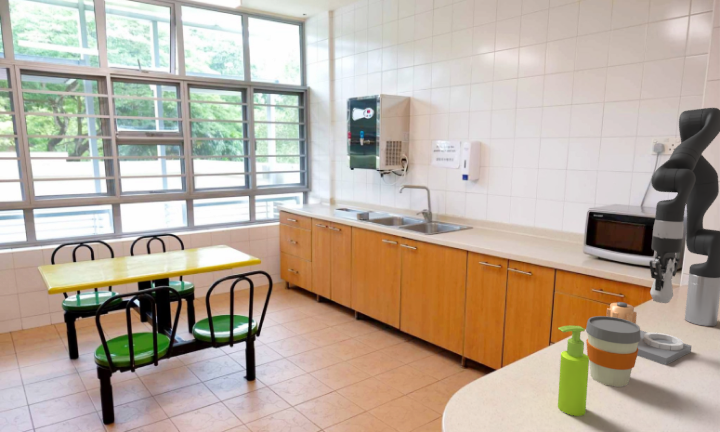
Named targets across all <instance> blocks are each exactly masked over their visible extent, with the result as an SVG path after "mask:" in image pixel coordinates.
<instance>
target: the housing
mask: <svg viewBox="0 0 720 432" xmlns="http://www.w3.org/2000/svg"><path fill="white" fill-rule="evenodd" d="M634 310H635V307H634V306H633V305H631V304H629V303H626V302H622V301H617V302H612V303H610V305H609V308H608V307H607V308H606V316H608V317H616V318H621V319H625V320H628V321H631V322H633V323H635V324H637V317H638V316H637V313H638V312H637V311H634ZM640 337H641V339H640V341H639V342H638V346H637V348H638V354H637V357H638V356H639V357H641V358H644V359H646V360H650V361H653V362H656V363H658V364H661V365H664V366H667V365H668V364H671V363H673V362H675V361H676V360H678V359H680V358H682V357H684V356H685V355H688V354H690V353H691V352H692V345H690V344H687V343H684V342H683V341H684V340H682V339H681V338H679V337H677V336H675V335H671V334H667V333H663V332H656V331H655V332H648V331H645V330H644V331H643V330H642V329H640Z"/></svg>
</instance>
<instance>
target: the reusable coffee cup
mask: <svg viewBox="0 0 720 432" xmlns="http://www.w3.org/2000/svg"><path fill="white" fill-rule="evenodd" d="M640 330H641V327H640V326H639V325H638V324H637V323H636V324H635V323H633V322H631V321H628V320H625V319H621V318H616V317H608V316H607V315H606V316H605V315H598V316H597V315H596V316H591V317H589V318H588V319H587V322H586V328H585V332H586V333H587V338H586V340H585V342H586V353H587V354H586V355H587V356H588V357H589V370H590V373H589V374H590V377H591V378H592V379H593V380H594V381H596V382H598V383H599V384H603V385H605V384H606V386H610V387H616V388H617V387H619V388H620V387H626V386H627V385H629V382H630V379H631V374H632V370H633V368H635V365H636V363H637V362H636V361H637V358H638V355H637V354H638V348H637V346H638V342H639V341H640V339H641V337H640Z"/></svg>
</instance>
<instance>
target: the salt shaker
mask: <svg viewBox="0 0 720 432" xmlns="http://www.w3.org/2000/svg"><path fill="white" fill-rule="evenodd" d="M672 267H673V262H672V261H671V264H670V265H669V270H668V273H667V274H666V276H665V280H664V286H663V289H662V286H661V291H657V290H655V286H656V285H655V281H656V279H654V278H653V282H652V286H651V289H650V291H649V293H650V296H651V298H652V300H653V302H656V303H659V304H668V303H670V302H671V300H672V299H673V297H674V290H673V282H672V281H673V280H672V279H671V271H670V269H671V268H672ZM661 270H664V269H661Z"/></svg>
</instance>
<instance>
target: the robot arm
mask: <svg viewBox="0 0 720 432" xmlns="http://www.w3.org/2000/svg"><path fill="white" fill-rule="evenodd" d="M678 129H679V130H678V131H679V138H680V144H677V146H676V147H675V149H674V150H673V151H672V153H671V155H670V157H669V158H668V160H667V161H665V162H664V163H663V164H661V165H660V166H659V167H658V168H657V169H655V171H654V173H653V175H652V176H651V181H650V183H651V186H652V188H653V189H654V190H655V191H656V192H660V193H675V194H676V196H675V197H674V198H673V199H672V198H671V199H663V200H659V201H658V202H657V203H656V206H655V207H656V208H655V219H654V224H653V227H652V229H653V230H652V239H651V246H650V247H651V250H653V251H655V252H656V253H655V256H654V260H649V269H650V277H651V278H652V279H653V280H654V279H656V281H655V285H656V286H655V290H657V291H661V286H662V289H663V286H664V280H665V276H666V274H667V273H668V270H669V265H670V264H671V261H672V262H673V267H672V268H670V271H671V280H672V279H673V277H675V276H676V274H677V271H678V268H679V265H680V261H681V258H680V257H676V256H677V255H676V254H679V253H681V252H682V248H683V239H684V228H685V229H686V232H685V233H686V234H685V244H686V248H687V251H688V252H690V253H691V254H695V255H700V256H705V257H707V258H706V261H705V262H700V263H693V264H691V265H690V266H689V272H688V282H687V293H686V303H685V310H684V311H685V312H684V313H685V314H684V320H685V321H687V322H689V323H692V324H694V325H699V326H706V327H714V326H717V324H718V318H719V317H718V316H719V309H720V230H715V229H709V228H704V218H705V214H706V212H707V211H708V210H709V209H710V207H711V206H712V205H713V204H714V202H715V200H717V198H718V196H719V192H720V191H719V189H720V188H719V186H720V185H719V174H718V172H717V170H716V168H714V166H713V165H712V164H711V163H710V162H709V160H707V159H706V158H705V157H704V155H703V153H704V151H705V150H706V149H707V148H708V147H709V145H711V144H712V143H713V141H714V140H715V139H716V137H718V136H719V134H720V109H719V108H717V107H705V108H697V109H690V110H684V111H682V112H681V113H680V115H679V119H678ZM685 209H686V227H684V219H685ZM661 269H664V270H661Z"/></svg>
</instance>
